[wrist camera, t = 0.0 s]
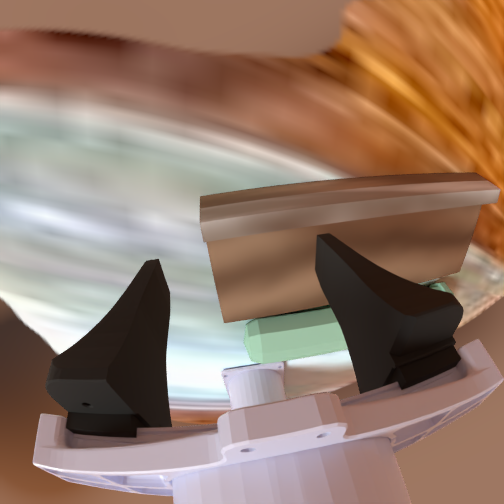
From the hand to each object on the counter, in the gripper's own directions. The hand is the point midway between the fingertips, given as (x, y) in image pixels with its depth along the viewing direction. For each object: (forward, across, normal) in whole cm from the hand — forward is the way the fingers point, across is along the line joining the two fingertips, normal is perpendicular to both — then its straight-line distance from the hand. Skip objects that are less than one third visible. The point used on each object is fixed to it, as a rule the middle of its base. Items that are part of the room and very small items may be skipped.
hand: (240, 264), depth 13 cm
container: (+11, -12, +17) cm, 23 cm away
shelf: (+10, -12, +7) cm, 17 cm away
